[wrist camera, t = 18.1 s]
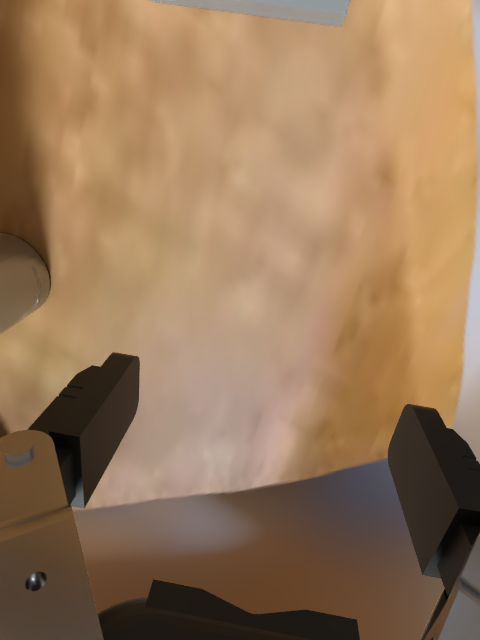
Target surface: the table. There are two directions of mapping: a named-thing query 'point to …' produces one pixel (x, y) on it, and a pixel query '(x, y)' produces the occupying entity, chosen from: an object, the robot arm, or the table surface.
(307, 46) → the table surface
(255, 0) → the low wall
